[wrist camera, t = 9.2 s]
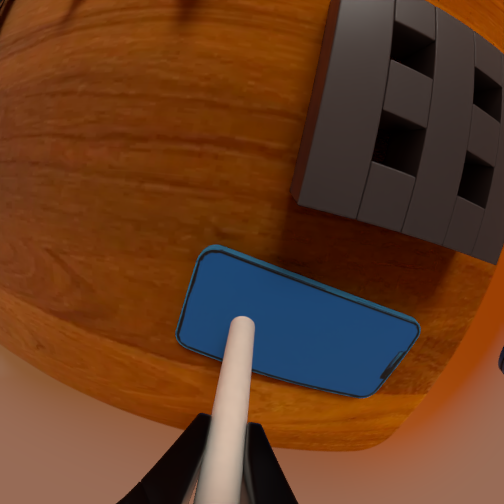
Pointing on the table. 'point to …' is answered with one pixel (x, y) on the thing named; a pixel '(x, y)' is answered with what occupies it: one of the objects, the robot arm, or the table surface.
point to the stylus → (228, 420)
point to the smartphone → (293, 324)
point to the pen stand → (407, 126)
